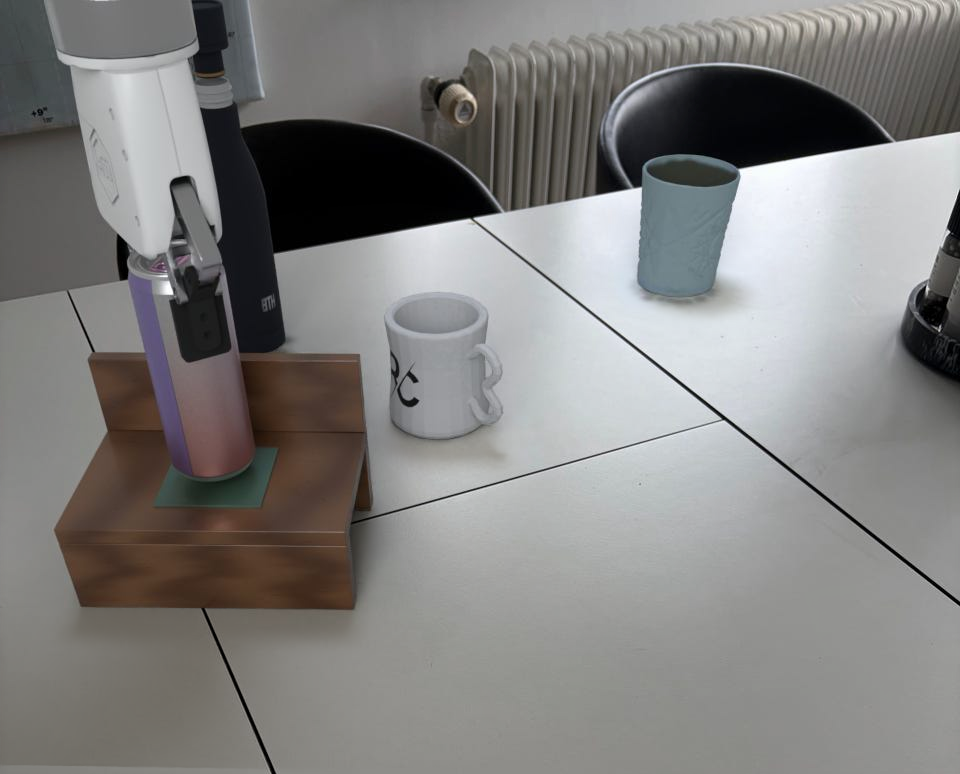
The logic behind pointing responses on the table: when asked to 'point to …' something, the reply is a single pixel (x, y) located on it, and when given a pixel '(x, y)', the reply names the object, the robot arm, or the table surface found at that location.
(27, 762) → the table surface
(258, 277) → the dark bottle
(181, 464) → the beverage can
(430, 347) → the mug
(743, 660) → the table surface
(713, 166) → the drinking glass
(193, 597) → the shelf
